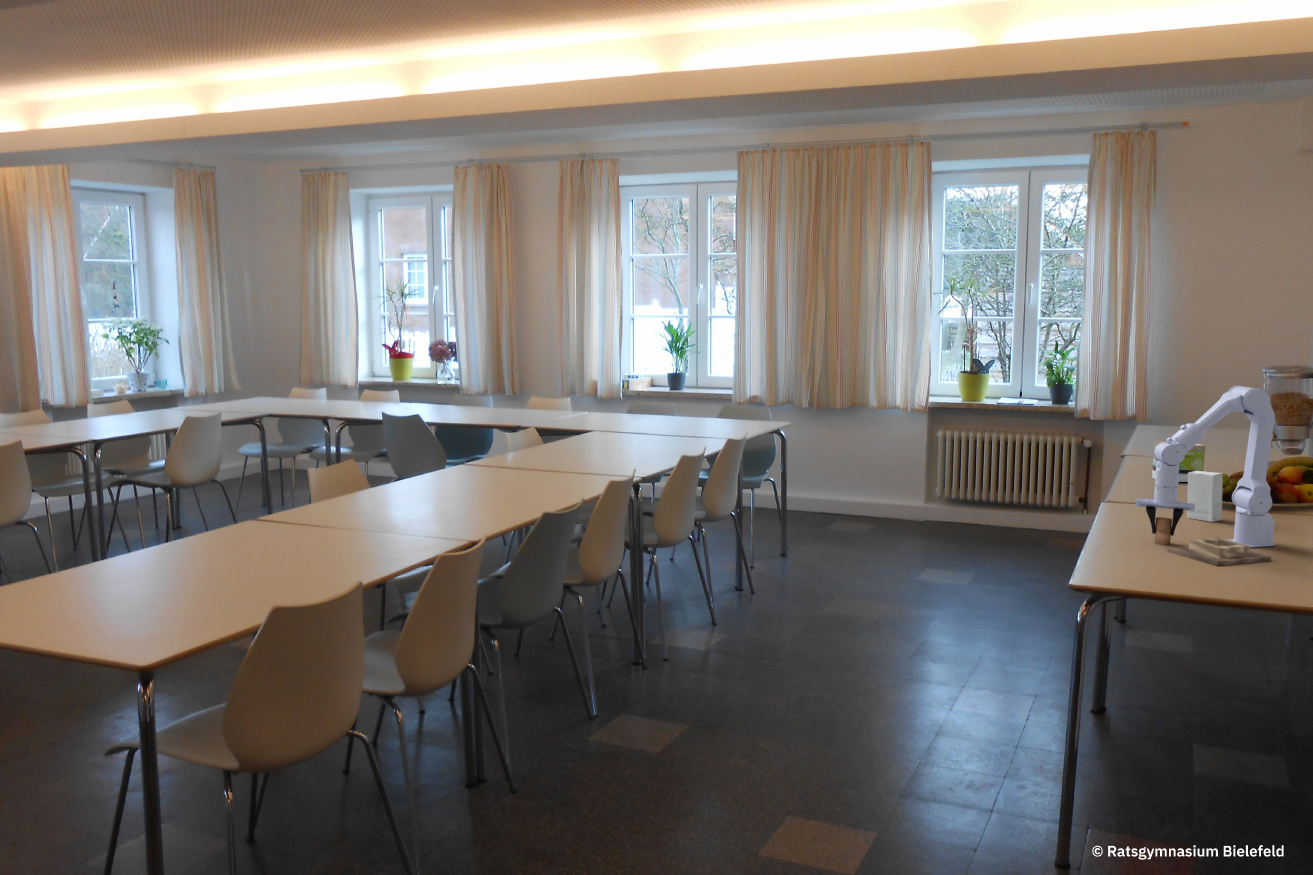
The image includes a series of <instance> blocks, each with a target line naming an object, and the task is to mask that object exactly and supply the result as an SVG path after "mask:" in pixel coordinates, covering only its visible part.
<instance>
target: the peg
mask: <svg viewBox="0 0 1313 875" xmlns="http://www.w3.org/2000/svg"><path fill="white" fill-rule="evenodd" d="M1172 522H1173V518H1170V517H1165V516H1164V517H1163V516H1157V517H1155V534H1154V544H1156V545H1160V544H1162V545H1161V546H1170V545H1171V539H1172V535H1171V528H1172Z"/></svg>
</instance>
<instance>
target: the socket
mask: <svg viewBox="0 0 1313 875" xmlns="http://www.w3.org/2000/svg"><path fill="white" fill-rule="evenodd" d="M1229 540H1230V539H1225V538H1221V537H1211V538H1198V539H1197V538H1196V539H1189V540H1188V545H1184V546H1182V545H1181V546H1171V547H1167V552H1168V551H1169V552H1168V553H1171V552H1172V554H1175V555H1177V556H1182V557H1186V558H1189V559H1192V560H1196V561H1199V562H1202V563H1206V564H1209V565H1212V566H1215V567H1217V566H1218V567H1219V566H1228V565H1230V566H1231V565H1239V564H1240V565H1242V564H1249V563H1262V562H1270V561H1272V556H1269V555H1266V554H1262V553H1258V552H1254V551H1251V548H1250V546H1248V545H1245V544H1241V543H1237V542H1233V541H1229Z"/></svg>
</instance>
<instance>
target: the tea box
mask: <svg viewBox="0 0 1313 875" xmlns="http://www.w3.org/2000/svg"><path fill="white" fill-rule="evenodd" d="M1164 442H1167V440H1166V441H1165V440H1164V441H1161V440H1155V441H1154V450H1155V448H1156V447H1157V445H1159V444H1160V443H1164ZM1154 450H1153V451H1154ZM1205 455H1206V446H1205V445H1204V444H1200V442H1199V443H1198V444H1196V445H1195V446H1194V447H1193V448H1192V449H1190V450H1189V451H1188V452H1187V453H1186V454H1185V457H1184V460H1183V461H1182V462H1180V463H1179V477H1178V483H1179V482H1188V473H1189V472H1193V471H1204V467H1205V466H1204V465H1205ZM1152 460H1153V461H1152V462H1153V463H1152V474H1151V478H1152V479H1153V478H1154V480H1155V474H1156V460H1155V458H1154V457H1153V459H1152Z"/></svg>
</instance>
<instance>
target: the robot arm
mask: <svg viewBox="0 0 1313 875" xmlns="http://www.w3.org/2000/svg"><path fill="white" fill-rule="evenodd" d="M1235 413H1237V414H1238V413H1242V414H1243V415H1245V416H1246V417H1247V418H1248V419H1249V420H1250V429H1249V434H1248V442H1247V447H1246V456H1245V462H1244V468H1243V475H1242V477H1241V478H1240V479H1239V480H1238V481H1237V485H1236V487H1235V489H1234V491H1233V492H1232V495H1231V501H1232V504H1234V506H1235V517H1234V518H1235V519H1234V527H1233V528H1234V529H1233V530H1234V531H1233V538H1232V539H1228V540H1229V541H1233V542H1237V543H1241V544H1245V545H1248V546H1250V549H1251V548H1262V547H1263V548H1264V547H1272V546H1276V543H1274V532H1275V519H1274V517H1273V516H1272V514H1270V513H1269V511H1270V510H1271V508H1272V506H1273V499H1272V496H1271V487H1270V485H1269V484H1268V481H1267V473H1268V466H1269V458H1270V453H1271V446H1272V438H1273V432H1274V427H1275V421H1276V420H1275V419H1276V417H1275V416H1276V414H1275V412H1274V409H1273V406H1272V404H1271V396H1270V395H1269V394H1268V393H1267V392H1266V391H1264V390H1263V389H1261V388H1259V387H1249V386H1244V385H1234V386H1232V387H1231V388H1230V389H1228V391H1226V392H1224V393H1223V394H1222V395H1221V397H1220V399H1218V401H1216V403H1214V404H1213V405H1212V406H1211V407H1210V408H1209V409H1208V410H1206V412H1205V413H1204V414H1202V415H1201V417H1200V418H1198V419H1197V420H1196V421H1195V422H1194V423H1189V422H1188V423H1186V424H1181V425H1180V427H1179V430H1178V431H1177V432H1176V433H1174V434H1173V435H1172V436H1171V437H1167V438H1166V439H1165V440H1166V441H1167V442H1164V443H1160V444H1159V445H1157V447H1156V448H1155V447H1154V449H1155V450H1153V451H1152V457H1153V459H1154V458H1155V460H1156V474H1155V479H1154V490H1153V491H1154V492H1153V494H1154V495H1153V499H1151V498H1149V499H1148V498H1136V501H1135V507H1136V508H1139V507H1141V508H1142V507H1143V508H1145V511H1146V513H1147V517H1148V519H1149V522H1150V525H1151V531H1152V532H1151V534H1153V535H1155V525H1156V514H1157V509H1165V510H1166V509H1169V510H1173V511H1172V527H1171V537H1172V536H1175V535H1174V534H1175V530H1176V528H1177V525H1178V523H1179V522H1180V519H1181V518H1182V516H1183V515H1184V511H1187V510H1189V511H1194V508H1195V503H1187V502H1185V501H1184V502H1183V501H1178V488H1179V487H1178V486H1179V482H1178V477H1179V463H1180V462H1182V461H1183V460H1184V457H1185V454H1186V453H1187V452H1188V451H1189V450H1190V449H1192V448H1193V447H1194V446H1195V445H1196V444H1198V443H1199V444H1200V443H1201V441H1202V440H1204V438H1205V432H1206V431H1207V430H1209V429H1210V428H1212V427H1214V425H1215V424H1217V423H1218V422H1220V421H1221V420H1222V419H1223V418H1225V417H1226V416H1227V415H1229V414H1235Z"/></svg>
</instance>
